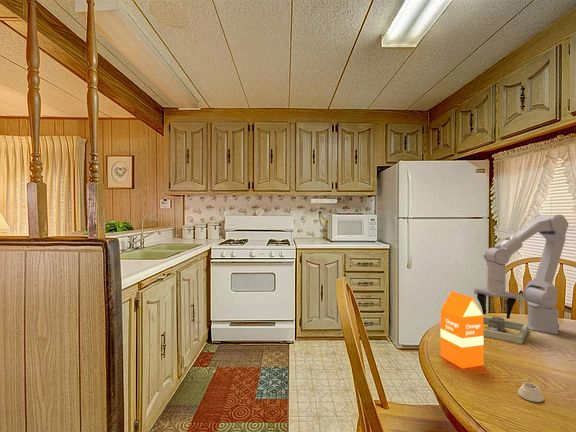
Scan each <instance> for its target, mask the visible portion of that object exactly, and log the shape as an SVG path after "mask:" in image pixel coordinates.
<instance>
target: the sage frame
mask: <svg viewBox="0 0 576 432" xmlns="http://www.w3.org/2000/svg"><path fill="white" fill-rule="evenodd" d="M491 318H492V317H490V316H484V315H483V324H488V321H489V320H490V319H491ZM504 328H509V329H513V330H520V331H519V333H518V334H513V333H507V332H504V331H503V332H498V331H493V330H488V328H483V336H484V337H487V338H489V339H490V338H491V339H494V340H499V341H504V342H508V343H514V344H518V345H523V343H524V340H525V338H526V337H527V335H528V332H529V329H528V323H525V322H518V321H513V320H509V319H508V320H506V319H504Z"/></svg>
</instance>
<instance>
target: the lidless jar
mask: <svg viewBox="0 0 576 432" xmlns="http://www.w3.org/2000/svg"><path fill="white" fill-rule="evenodd" d="M517 395H518V396H520V398H523V399H525V400H527V401H530V402H535V403H540V402H544V400H545V398H544V397H545V396H544V395H543V393H542V392H541V390H540V388H539V386H538V385H537V384H535V383H532V382H523V383H522V385H521V386H520V388H518V390H517Z"/></svg>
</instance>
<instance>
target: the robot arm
mask: <svg viewBox="0 0 576 432" xmlns="http://www.w3.org/2000/svg"><path fill="white" fill-rule="evenodd" d="M568 228H569V221H568V220H567V219H566V217H565V216H564V215H562V214H535V216H533V217H532V218H530V219H529V222H528V223H527V224H526V225H525V226H524V227H523V228H522V229H520V231H518V232H517V233H516V234H515V235H507V236H505V237H504V239H503V240H502V241H500V242H499V243H497V244H496V245H495V246H494V247H489V248H488V249H487V250H486V251H485V254H483V258H484V260H485V261H486V266H487V289H486V288H474V289H473V294H474V295H476V298H477V300H478V303H479V305H480V307H481V310H482V311H481V312H482V314H483V316H484V315H487V298H488V297H487V296H489V297H495V298H503V299H506V319H508V320H509V319H510V318H511V313H512V310H513V308H514V306H515V304H516V302H517V301H520V300H521V294H520V293H513V292H509V291H506V267H507V266H506V264H508V263H510V262H509V261H510V259H511V258H512V255H514V254H515V253H516V252H517V251H519V250H520V249H522V248H523V243H524V242H526V240H528V239H530V238H531V237H533V236H534V235H536V234H540V235H541V236H542V237H543V238H544V239H545V243H544V247H543V252H542V254H541V258H540V260H539V264H538V268H537V270H536V273H535V278H533V279H531V280H529V281H528V282H527V285H526V286H525V287H524V289H523V291H522V297H523V299H524V300H525V301H526V304H527V324H528V330H533V331H536V332H541V333H546V334H547V333H549V334H552V335H553V334H554V335H558V333H559V329H560V323H559V308H557V307H555V306H556V305H557V301H558V288H557V287H556V286H555V285H554V283H553V282H554V279H555V277H556V273H557V269H558V265H559V263H560V260H561V256H562V252H563V249H564V247H565V246H564V245H565V243H566V234H567V230H568Z"/></svg>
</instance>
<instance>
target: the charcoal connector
mask: <svg viewBox="0 0 576 432" xmlns="http://www.w3.org/2000/svg"><path fill="white" fill-rule="evenodd" d="M504 320H505V318H504V317H500V316H492V317H491V319H490V320H489V321H488V325H487V329H488V330H493V331H498V332H503V333H504V331H505V327H504Z"/></svg>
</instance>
